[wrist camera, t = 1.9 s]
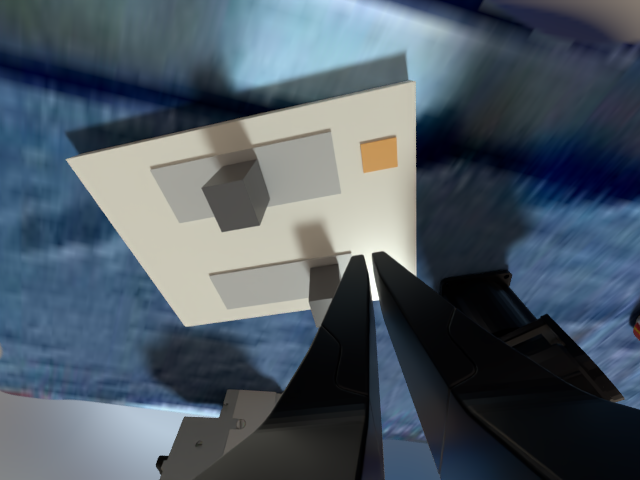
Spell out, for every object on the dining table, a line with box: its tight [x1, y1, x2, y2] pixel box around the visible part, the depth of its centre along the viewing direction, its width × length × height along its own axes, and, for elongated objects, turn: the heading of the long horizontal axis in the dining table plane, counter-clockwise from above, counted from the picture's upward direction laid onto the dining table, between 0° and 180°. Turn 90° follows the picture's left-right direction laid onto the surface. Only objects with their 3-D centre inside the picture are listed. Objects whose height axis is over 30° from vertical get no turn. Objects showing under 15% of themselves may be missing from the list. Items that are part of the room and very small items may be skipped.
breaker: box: [309, 264, 341, 327], centre depth 22 cm, size 2×3×4 cm
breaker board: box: [66, 80, 416, 327], centre depth 23 cm, size 24×18×2 cm
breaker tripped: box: [201, 159, 270, 232], centre depth 17 cm, size 2×3×4 cm
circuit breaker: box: [156, 389, 283, 480], centre depth 34 cm, size 8×14×15 cm, turn 84°
